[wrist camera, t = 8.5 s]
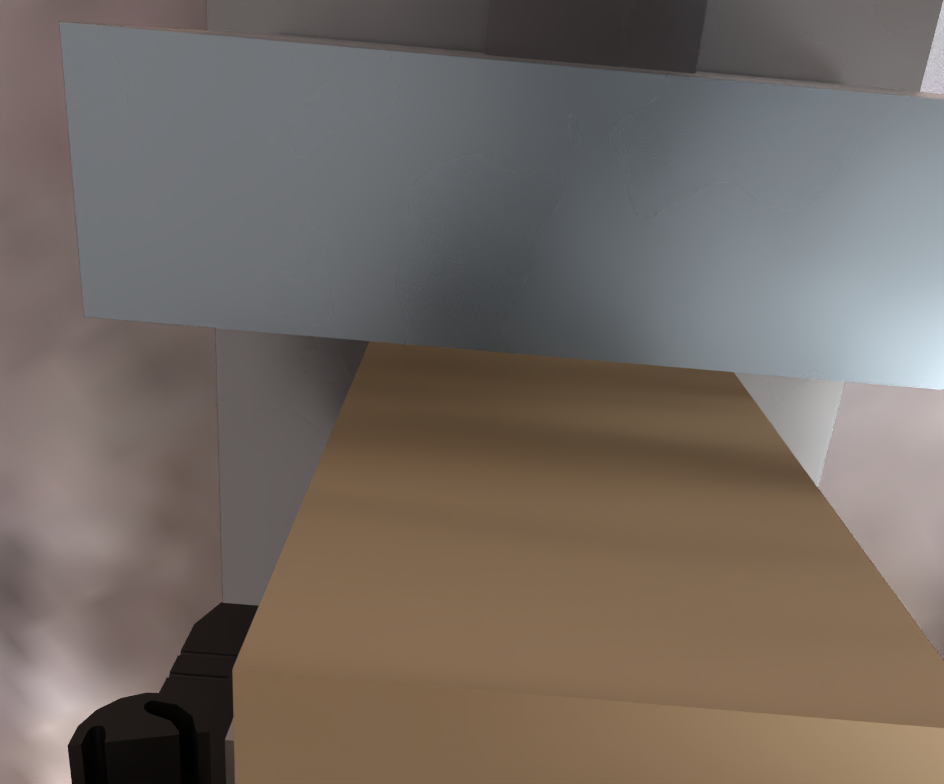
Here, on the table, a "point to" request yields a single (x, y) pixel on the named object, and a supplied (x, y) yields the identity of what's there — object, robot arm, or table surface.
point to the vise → (337, 360)
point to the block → (574, 594)
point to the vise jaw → (512, 194)
